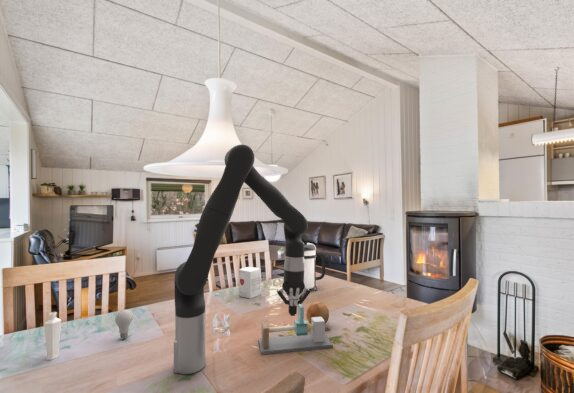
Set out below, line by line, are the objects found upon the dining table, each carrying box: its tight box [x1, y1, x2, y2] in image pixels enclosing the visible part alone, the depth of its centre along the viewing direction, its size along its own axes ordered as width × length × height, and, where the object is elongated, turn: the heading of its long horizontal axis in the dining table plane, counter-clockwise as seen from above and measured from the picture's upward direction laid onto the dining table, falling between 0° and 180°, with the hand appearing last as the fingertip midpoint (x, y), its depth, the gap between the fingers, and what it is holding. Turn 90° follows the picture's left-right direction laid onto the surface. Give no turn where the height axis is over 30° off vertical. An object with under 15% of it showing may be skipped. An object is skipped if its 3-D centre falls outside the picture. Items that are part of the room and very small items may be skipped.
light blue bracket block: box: [294, 303, 309, 336], centre depth 110 cm, size 4×4×10 cm
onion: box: [305, 300, 330, 325], centre depth 126 cm, size 10×10×10 cm
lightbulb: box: [114, 309, 134, 340], centre depth 114 cm, size 6×6×11 cm
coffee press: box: [303, 238, 326, 291], centre depth 179 cm, size 17×16×30 cm
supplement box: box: [238, 266, 262, 300], centre depth 166 cm, size 9×9×15 cm
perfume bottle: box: [43, 311, 62, 361], centre depth 101 cm, size 5×4×15 cm
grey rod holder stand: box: [258, 317, 334, 355], centre depth 109 cm, size 26×10×8 cm, turn 101°
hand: (292, 315), depth 110 cm, fingers closed
